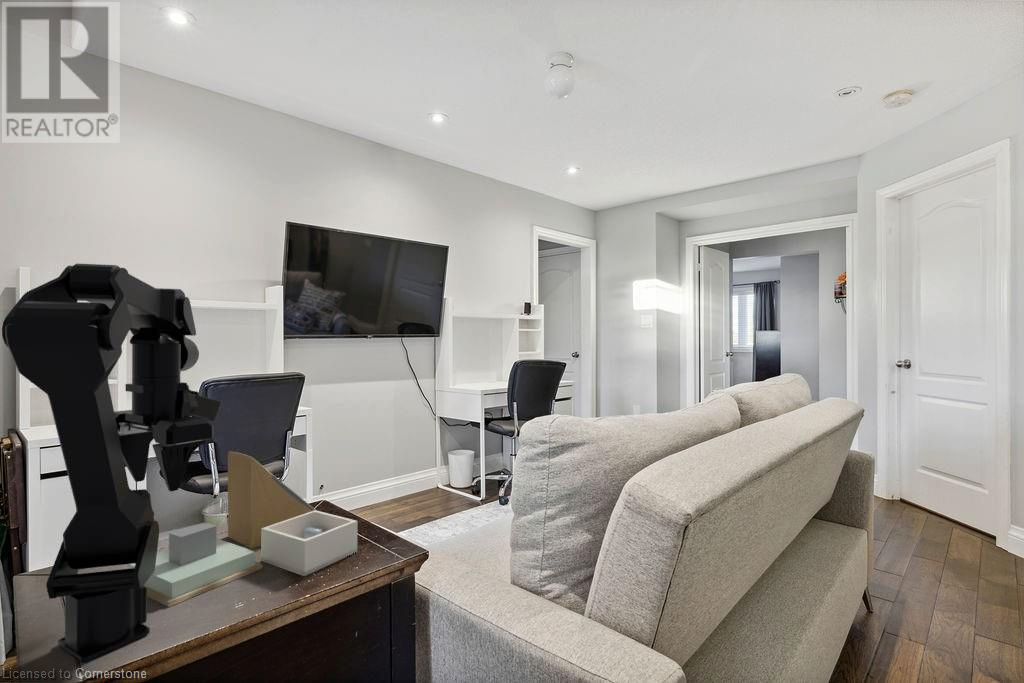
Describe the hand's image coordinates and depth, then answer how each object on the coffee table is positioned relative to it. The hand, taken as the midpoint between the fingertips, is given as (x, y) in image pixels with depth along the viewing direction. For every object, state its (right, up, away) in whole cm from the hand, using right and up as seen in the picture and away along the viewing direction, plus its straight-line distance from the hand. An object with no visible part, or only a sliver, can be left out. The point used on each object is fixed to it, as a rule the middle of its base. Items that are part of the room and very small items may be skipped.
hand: (156, 485), depth 74 cm
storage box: (+19, -13, +7) cm, 24 cm away
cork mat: (+5, -13, +1) cm, 14 cm away
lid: (+5, -12, +1) cm, 13 cm away
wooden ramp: (+10, -13, +19) cm, 25 cm away
